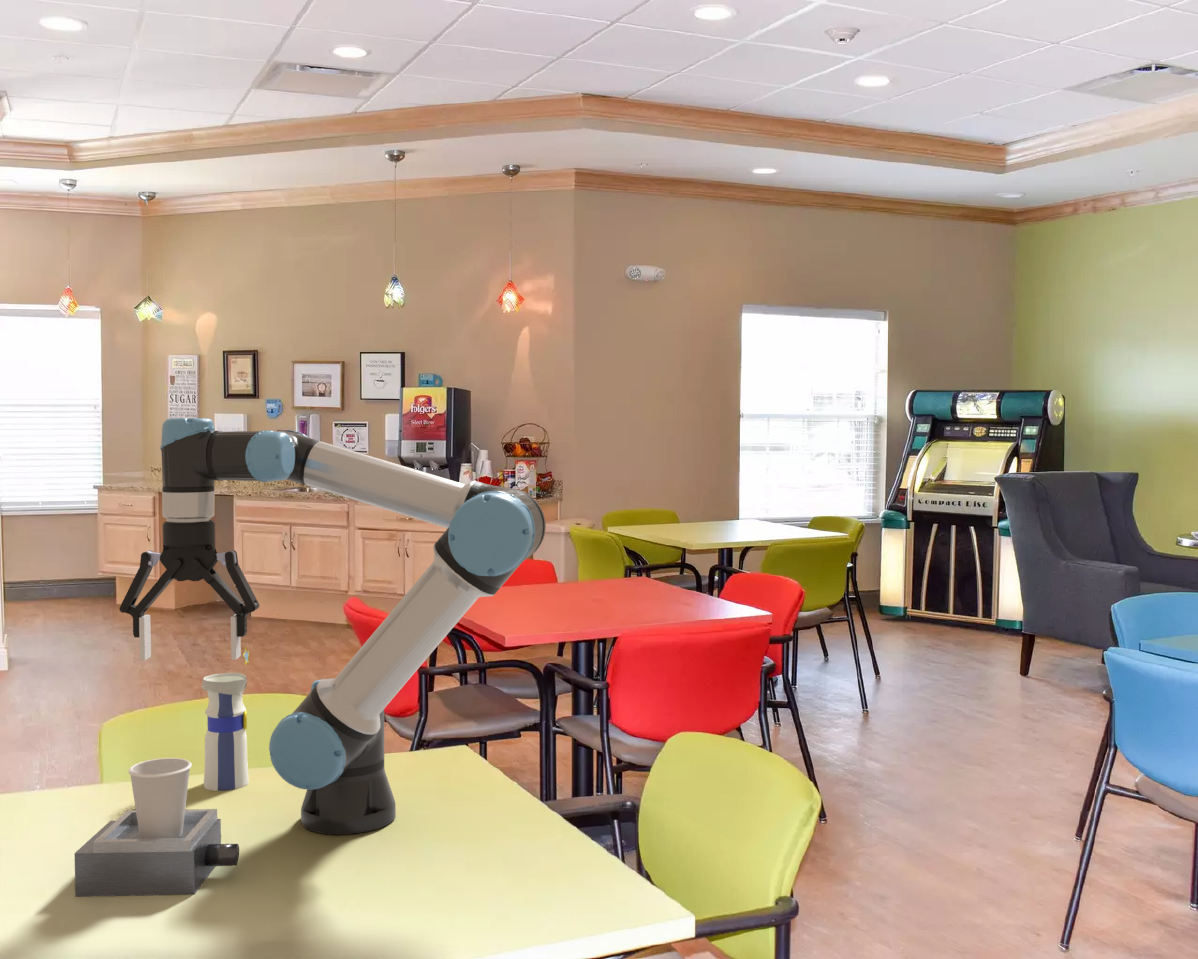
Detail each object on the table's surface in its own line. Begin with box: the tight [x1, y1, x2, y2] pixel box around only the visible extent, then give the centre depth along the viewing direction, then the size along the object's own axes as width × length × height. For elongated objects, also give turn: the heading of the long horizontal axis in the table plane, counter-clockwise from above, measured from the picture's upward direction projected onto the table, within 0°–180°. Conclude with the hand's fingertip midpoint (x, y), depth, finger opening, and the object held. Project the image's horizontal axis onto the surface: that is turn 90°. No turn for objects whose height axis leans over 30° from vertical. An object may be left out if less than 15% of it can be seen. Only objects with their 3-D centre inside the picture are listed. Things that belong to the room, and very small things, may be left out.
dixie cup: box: [128, 757, 193, 839], centre depth 162 cm, size 8×8×10 cm
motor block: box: [74, 808, 240, 898], centre depth 162 cm, size 20×13×8 cm, turn 93°
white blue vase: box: [201, 646, 250, 792], centre depth 204 cm, size 8×9×25 cm
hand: (190, 658), depth 174 cm, fingers open, 13 cm apart
